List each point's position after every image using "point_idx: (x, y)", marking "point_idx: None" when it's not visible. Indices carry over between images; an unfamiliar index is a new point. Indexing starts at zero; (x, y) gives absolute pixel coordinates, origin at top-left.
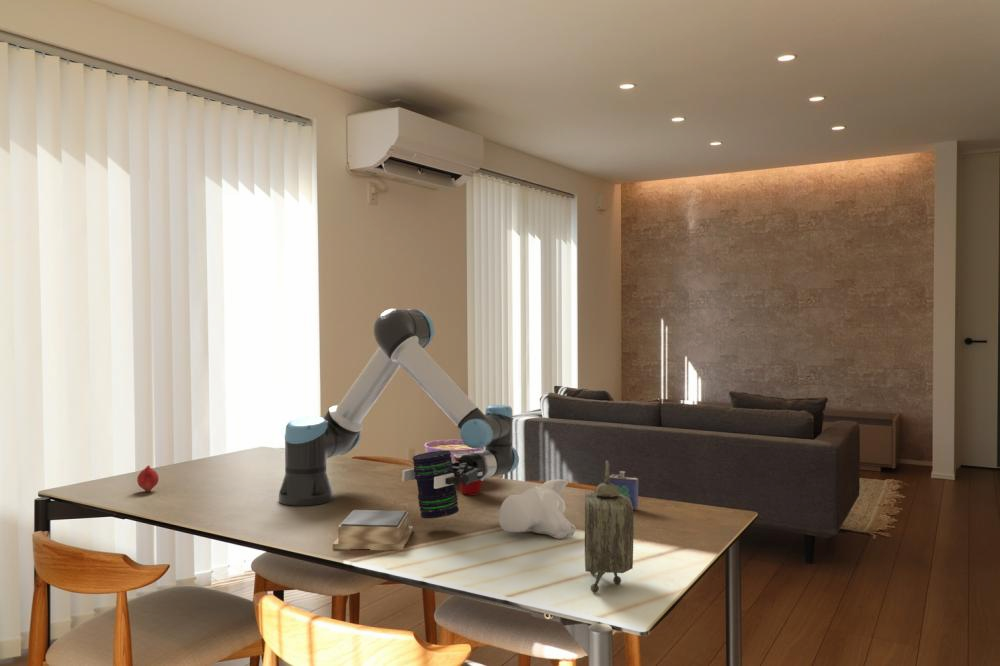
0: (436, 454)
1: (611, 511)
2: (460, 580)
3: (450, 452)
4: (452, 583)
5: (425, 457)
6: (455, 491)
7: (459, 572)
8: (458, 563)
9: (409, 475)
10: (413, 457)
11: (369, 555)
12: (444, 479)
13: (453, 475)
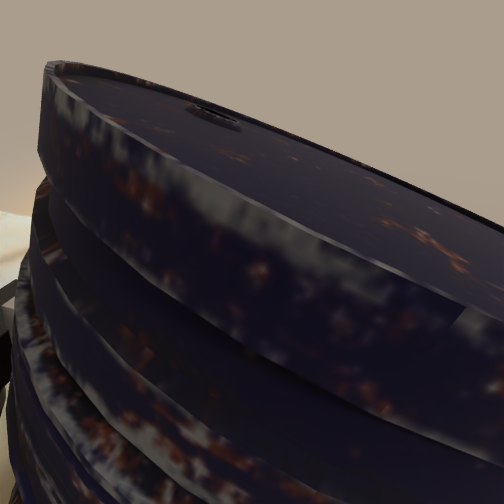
0: (295, 159)
1: None
2: (13, 225)
3: (42, 91)
4: (29, 218)
5: (312, 151)
6: (11, 502)
7: (15, 246)
8: (17, 276)
9: None
10: (473, 219)
11: None
12: None
13: (13, 315)
